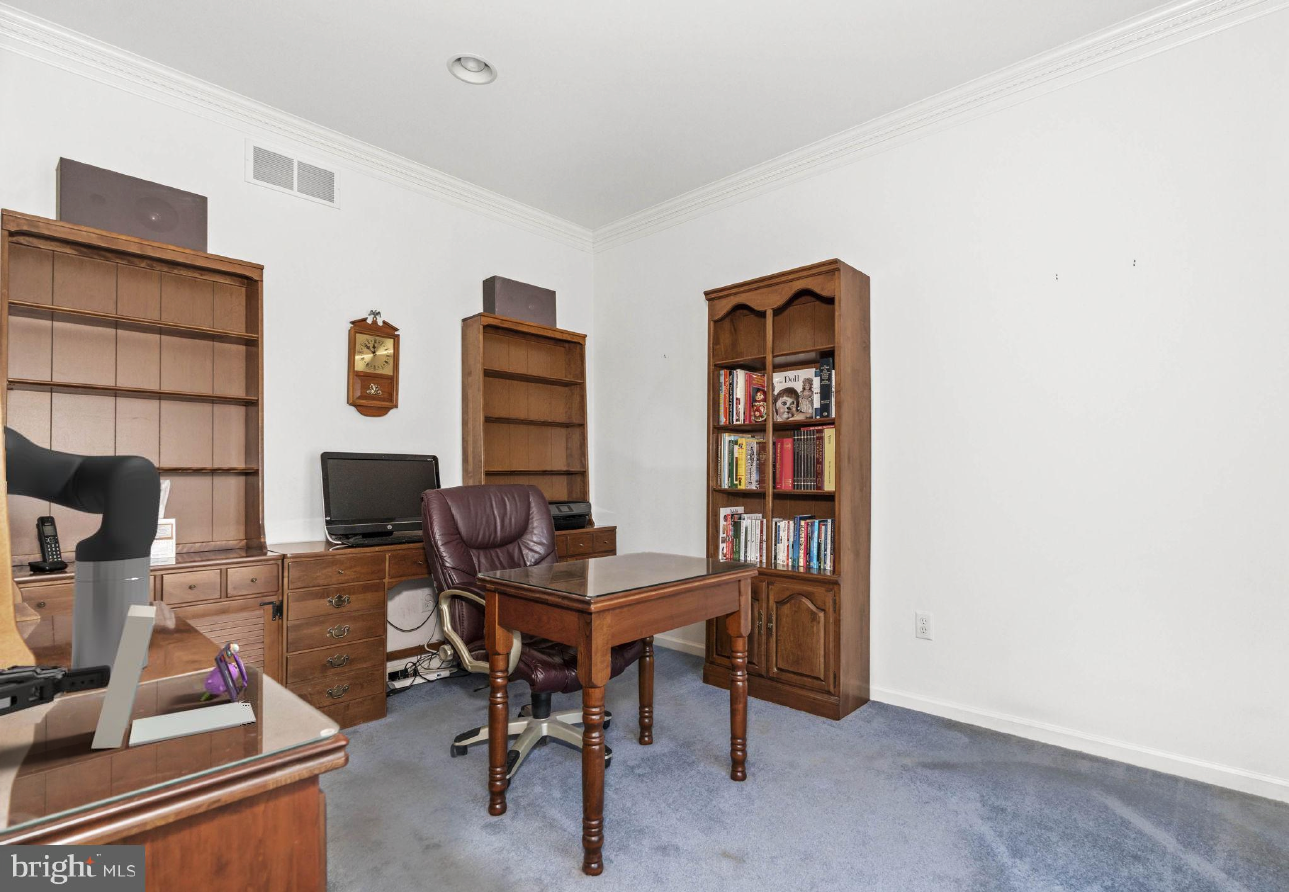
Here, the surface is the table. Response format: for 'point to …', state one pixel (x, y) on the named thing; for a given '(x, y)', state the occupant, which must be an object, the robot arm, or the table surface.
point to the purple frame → (225, 674)
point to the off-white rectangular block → (125, 677)
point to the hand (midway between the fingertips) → (109, 675)
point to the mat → (190, 722)
